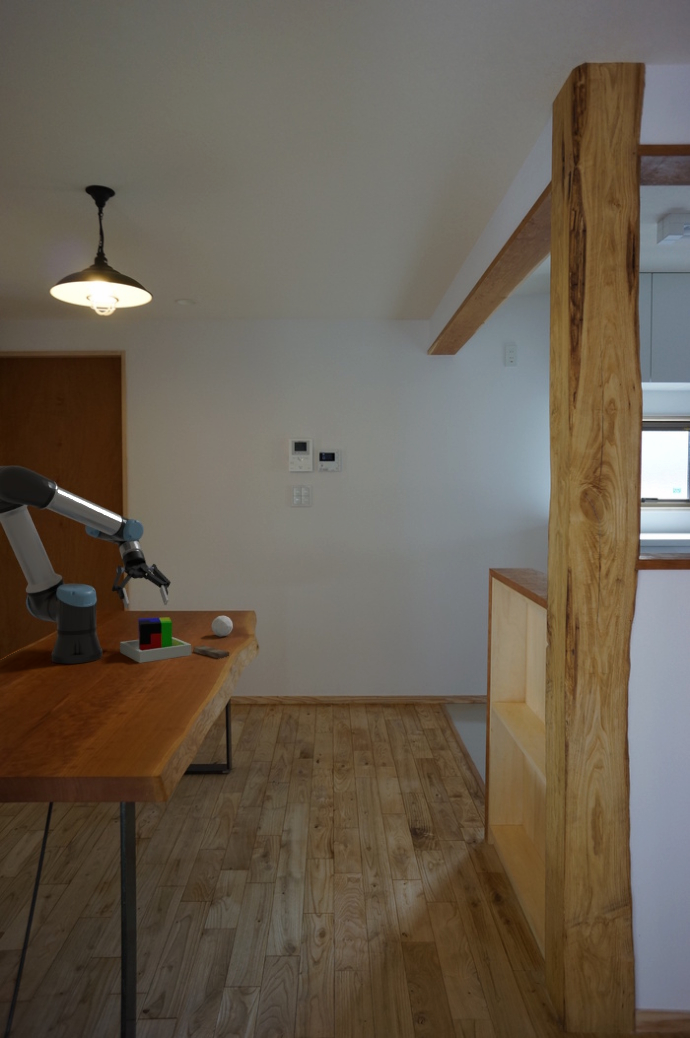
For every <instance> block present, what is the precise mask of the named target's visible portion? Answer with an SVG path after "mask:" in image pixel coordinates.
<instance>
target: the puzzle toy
mask: <svg viewBox="0 0 690 1038" xmlns="http://www.w3.org/2000/svg"><path fill="white" fill-rule="evenodd" d="M172 637H173V622H172V620H171V617H168V616H167V617H166V616H165V617H149V618H147V617H146V618H138V640H139V649H140V650H142V651H143V650H150V649H157V648H165V647H172Z"/></svg>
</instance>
